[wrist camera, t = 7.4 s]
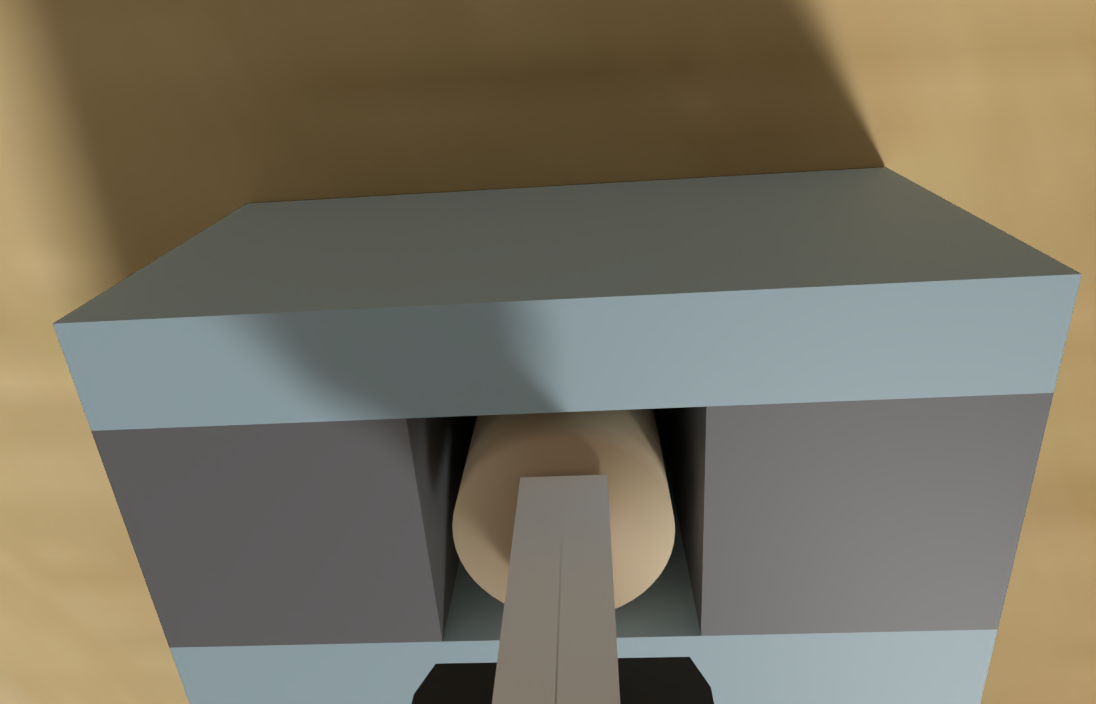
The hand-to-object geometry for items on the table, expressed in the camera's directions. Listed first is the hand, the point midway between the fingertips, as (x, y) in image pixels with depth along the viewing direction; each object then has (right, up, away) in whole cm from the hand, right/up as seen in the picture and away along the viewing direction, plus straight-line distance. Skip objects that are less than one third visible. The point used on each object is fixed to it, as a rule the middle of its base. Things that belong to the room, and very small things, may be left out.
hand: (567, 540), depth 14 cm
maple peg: (0, +3, +8) cm, 8 cm away
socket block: (+1, -2, +10) cm, 10 cm away
